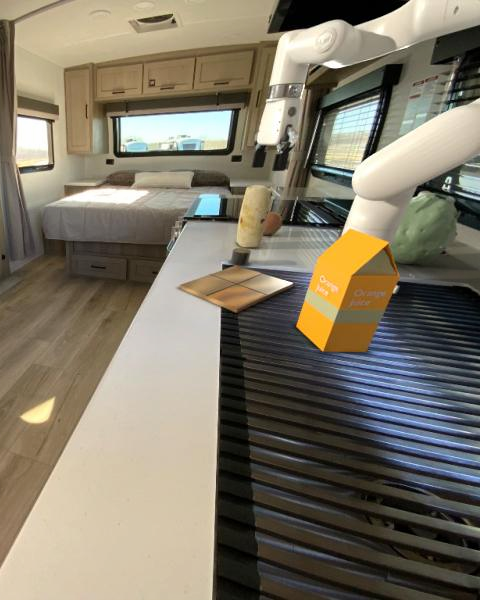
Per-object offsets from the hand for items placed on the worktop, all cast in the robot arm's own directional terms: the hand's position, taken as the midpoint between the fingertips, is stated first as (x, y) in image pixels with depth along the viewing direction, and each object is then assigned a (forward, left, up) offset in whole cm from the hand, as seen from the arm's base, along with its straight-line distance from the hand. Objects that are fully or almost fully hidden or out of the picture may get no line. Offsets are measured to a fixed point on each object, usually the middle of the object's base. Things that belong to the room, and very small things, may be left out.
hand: (267, 169), depth 89 cm
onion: (+14, -34, -27) cm, 46 cm away
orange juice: (-33, +27, -27) cm, 50 cm away
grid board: (-9, +20, -27) cm, 34 cm away
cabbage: (-27, -36, -27) cm, 53 cm away
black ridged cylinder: (+1, +3, -27) cm, 27 cm away
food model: (+10, -15, -27) cm, 32 cm away
